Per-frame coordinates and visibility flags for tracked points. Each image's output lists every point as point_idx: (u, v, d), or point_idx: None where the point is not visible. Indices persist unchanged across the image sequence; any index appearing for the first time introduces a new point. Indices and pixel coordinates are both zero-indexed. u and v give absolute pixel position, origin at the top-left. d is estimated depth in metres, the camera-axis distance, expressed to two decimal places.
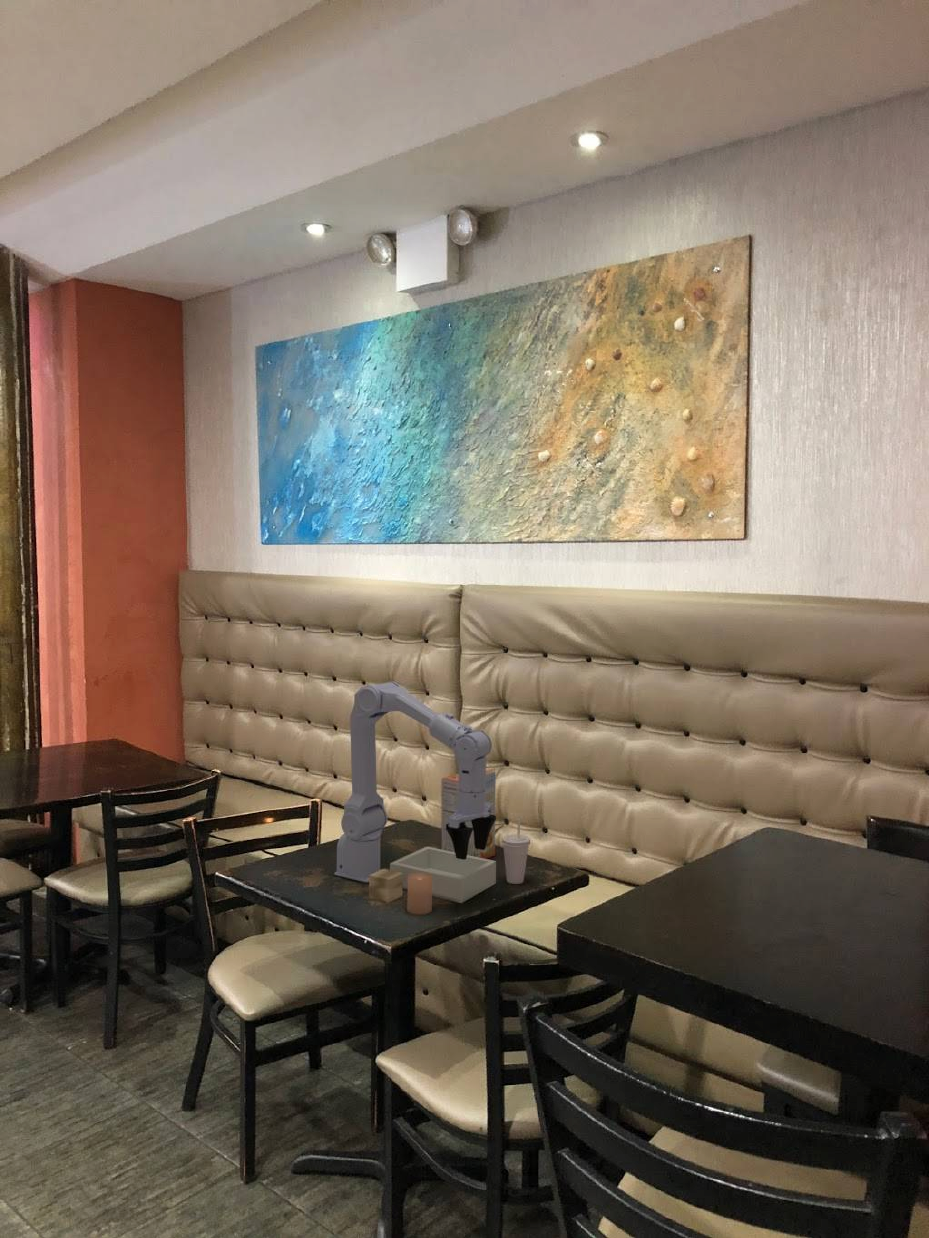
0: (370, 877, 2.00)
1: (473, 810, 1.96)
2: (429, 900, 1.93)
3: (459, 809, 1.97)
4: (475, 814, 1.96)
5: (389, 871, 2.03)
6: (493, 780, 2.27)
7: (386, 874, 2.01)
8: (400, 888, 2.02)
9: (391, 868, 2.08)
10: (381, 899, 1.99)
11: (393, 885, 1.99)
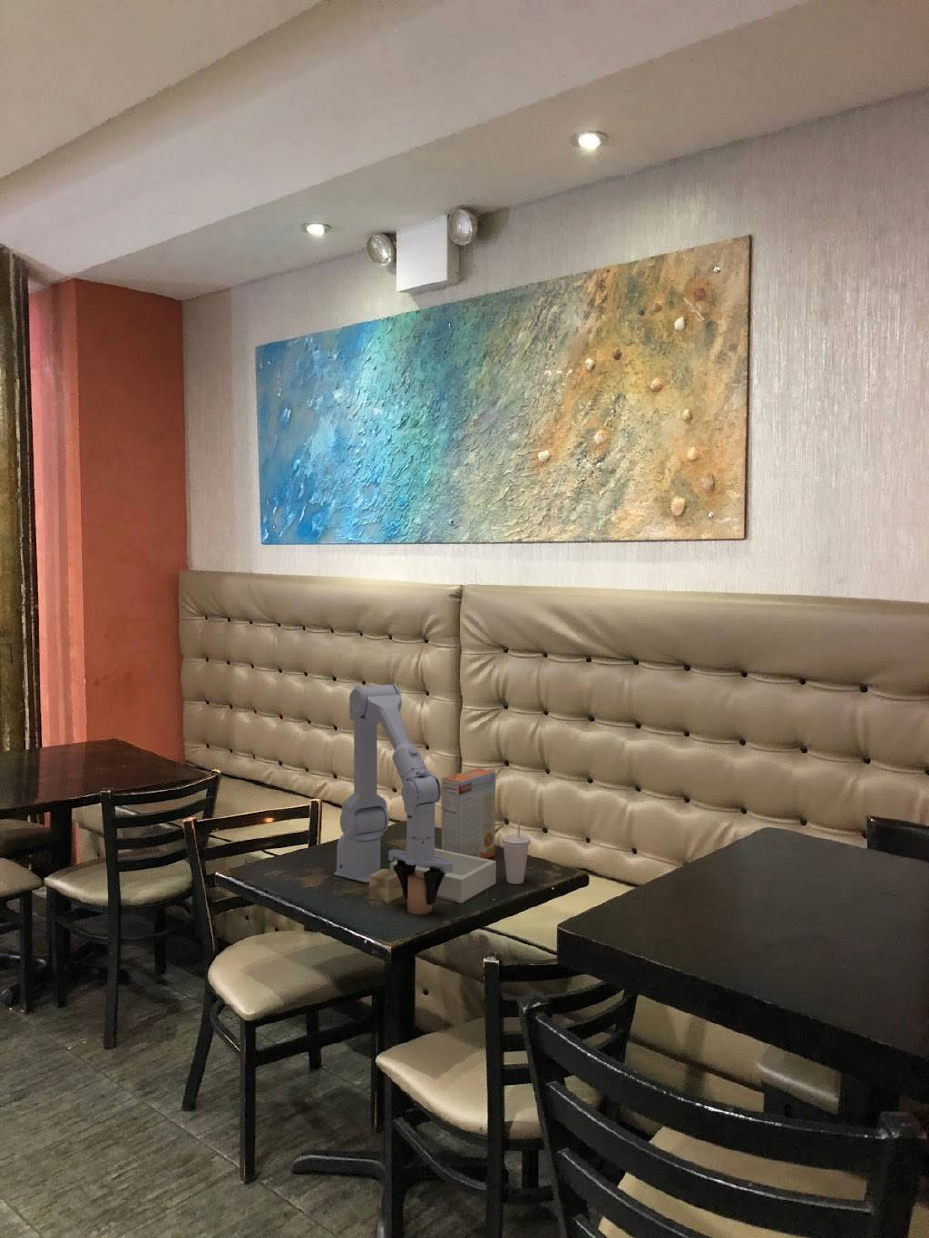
0: (370, 877, 2.00)
1: (406, 852, 1.93)
2: None
3: None
4: (405, 857, 1.93)
5: (389, 871, 2.03)
6: (493, 780, 2.27)
7: (386, 874, 2.01)
8: (400, 888, 2.02)
9: (391, 868, 2.08)
10: (381, 899, 1.99)
11: (393, 885, 1.99)
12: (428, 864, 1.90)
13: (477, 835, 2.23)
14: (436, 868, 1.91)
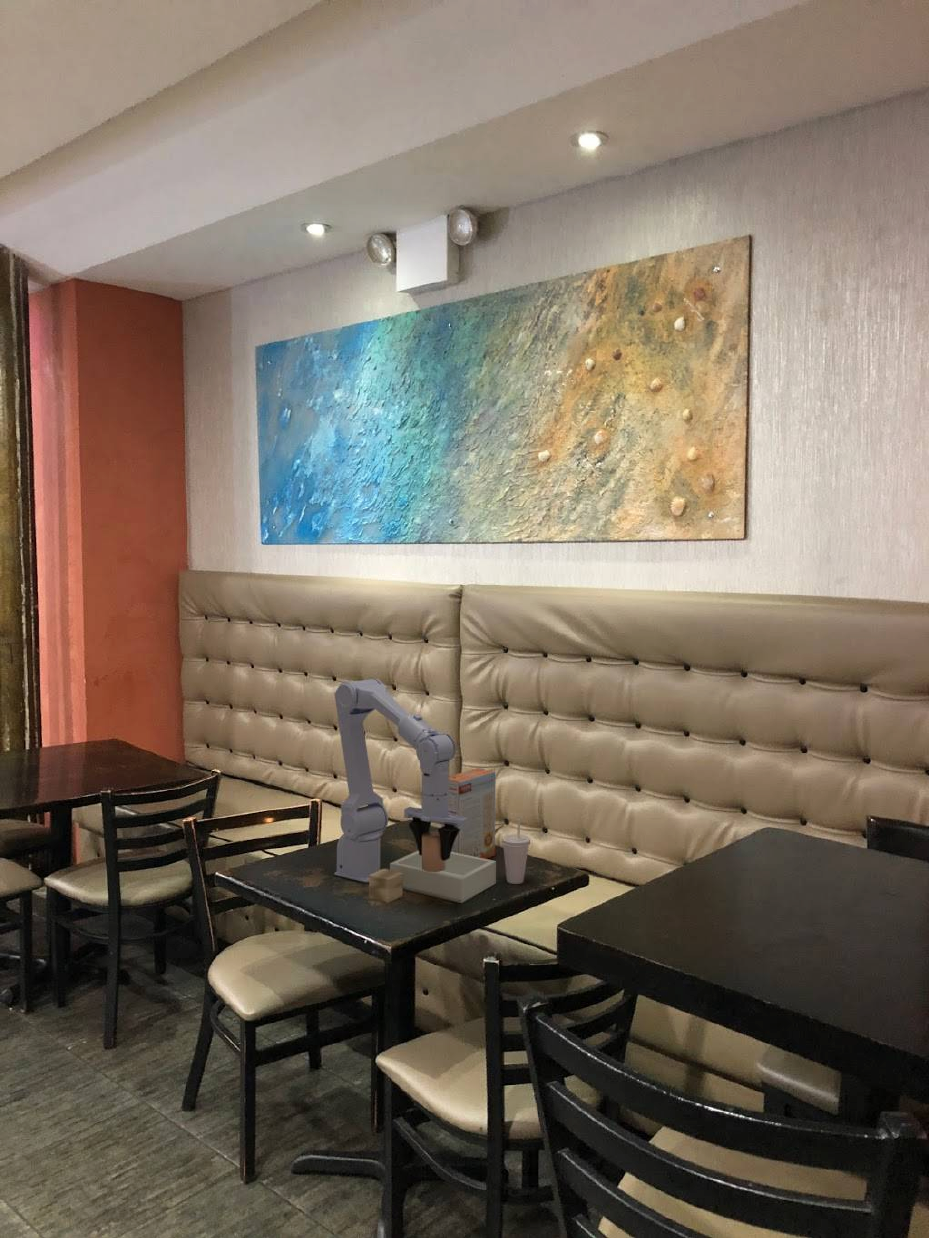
0: (370, 877, 2.00)
1: (421, 810, 1.98)
2: None
3: None
4: (420, 814, 1.98)
5: (389, 871, 2.03)
6: (493, 780, 2.27)
7: (386, 874, 2.01)
8: (400, 888, 2.02)
9: (391, 868, 2.08)
10: (381, 899, 1.99)
11: (393, 885, 1.99)
12: (443, 820, 1.95)
13: (477, 835, 2.23)
14: (450, 824, 1.96)
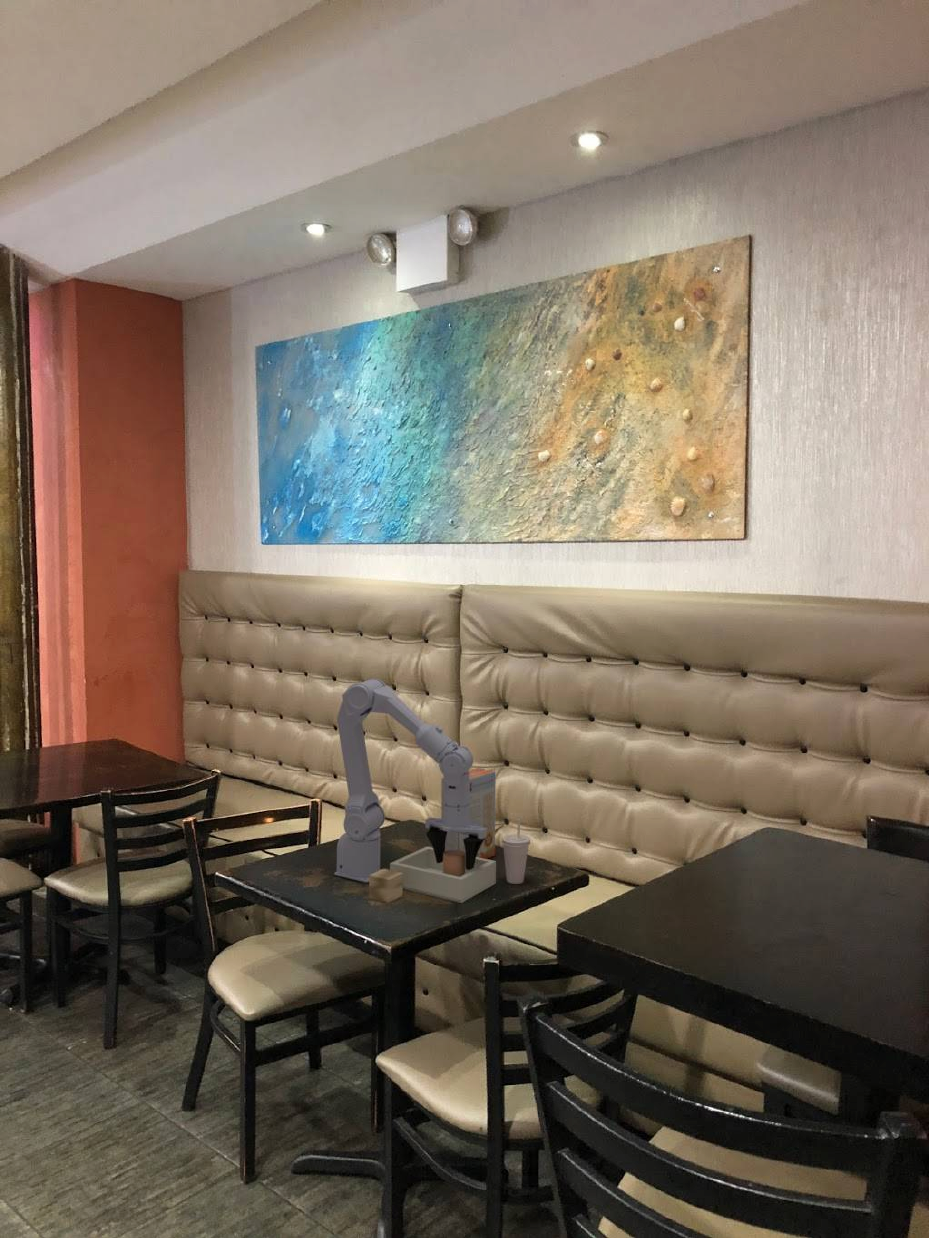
0: (370, 877, 2.00)
1: (442, 820, 2.06)
2: None
3: None
4: (441, 824, 2.06)
5: (389, 871, 2.03)
6: (493, 780, 2.27)
7: (386, 874, 2.01)
8: (400, 888, 2.02)
9: (391, 868, 2.08)
10: (381, 899, 1.99)
11: (393, 885, 1.99)
12: (463, 830, 2.03)
13: None
14: (471, 834, 2.04)
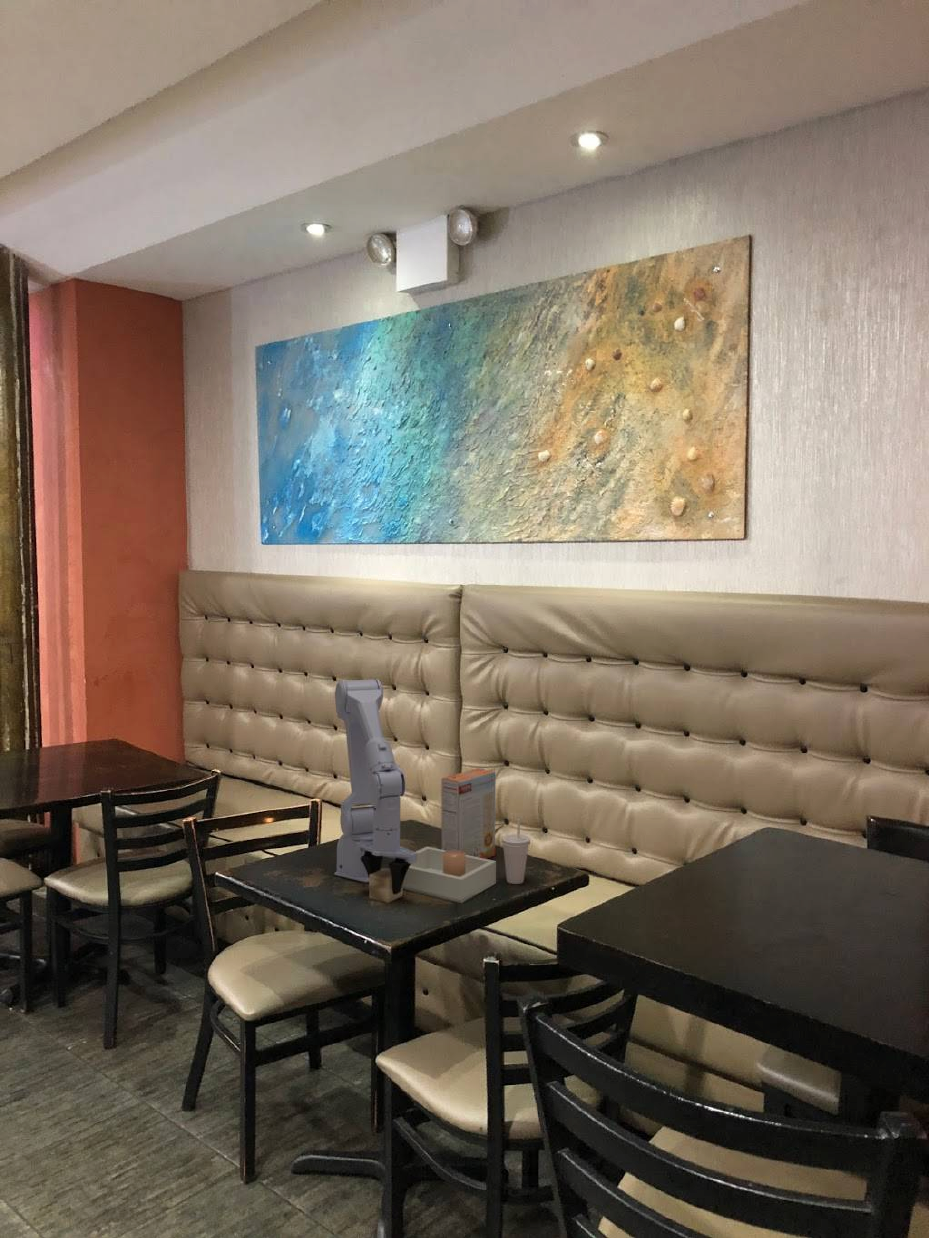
0: (370, 877, 2.00)
1: (372, 844, 2.00)
2: None
3: None
4: (371, 848, 2.00)
5: (389, 870, 2.03)
6: (493, 780, 2.27)
7: (386, 874, 2.01)
8: None
9: None
10: (381, 899, 1.99)
11: None
12: (393, 855, 1.97)
13: (477, 835, 2.23)
14: (401, 859, 1.98)
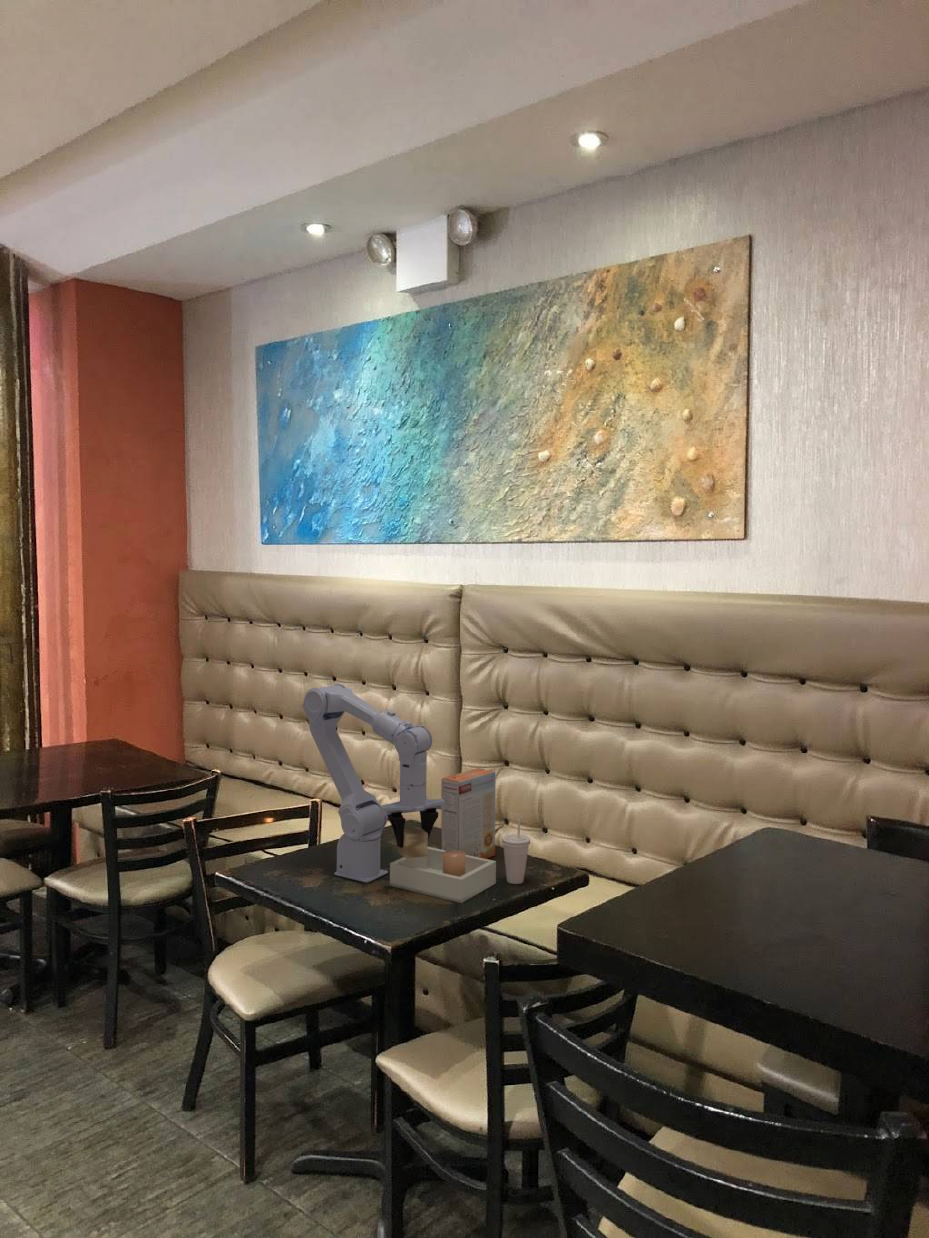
0: (407, 837, 2.03)
1: (406, 802, 2.03)
2: None
3: None
4: (407, 806, 2.03)
5: (408, 828, 2.08)
6: (493, 780, 2.27)
7: (415, 831, 2.06)
8: None
9: (391, 868, 2.08)
10: (419, 855, 2.05)
11: None
12: (430, 806, 2.06)
13: (477, 835, 2.23)
14: (432, 808, 2.08)
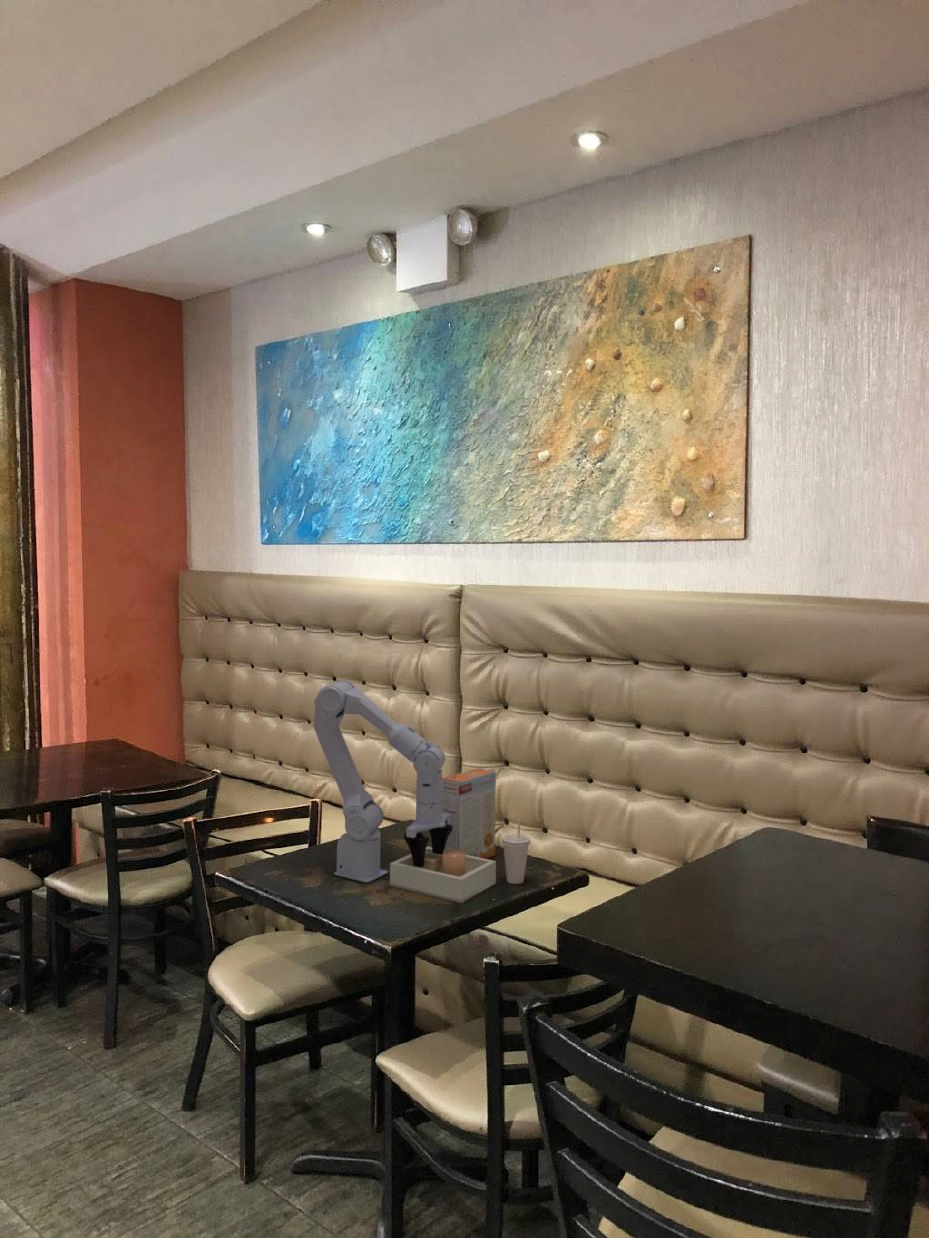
0: (433, 863, 2.08)
1: (430, 821, 2.08)
2: None
3: (417, 819, 2.09)
4: (431, 824, 2.08)
5: None
6: (493, 780, 2.27)
7: (432, 856, 2.11)
8: None
9: (391, 868, 2.08)
10: None
11: None
12: (444, 821, 2.12)
13: (477, 835, 2.23)
14: None
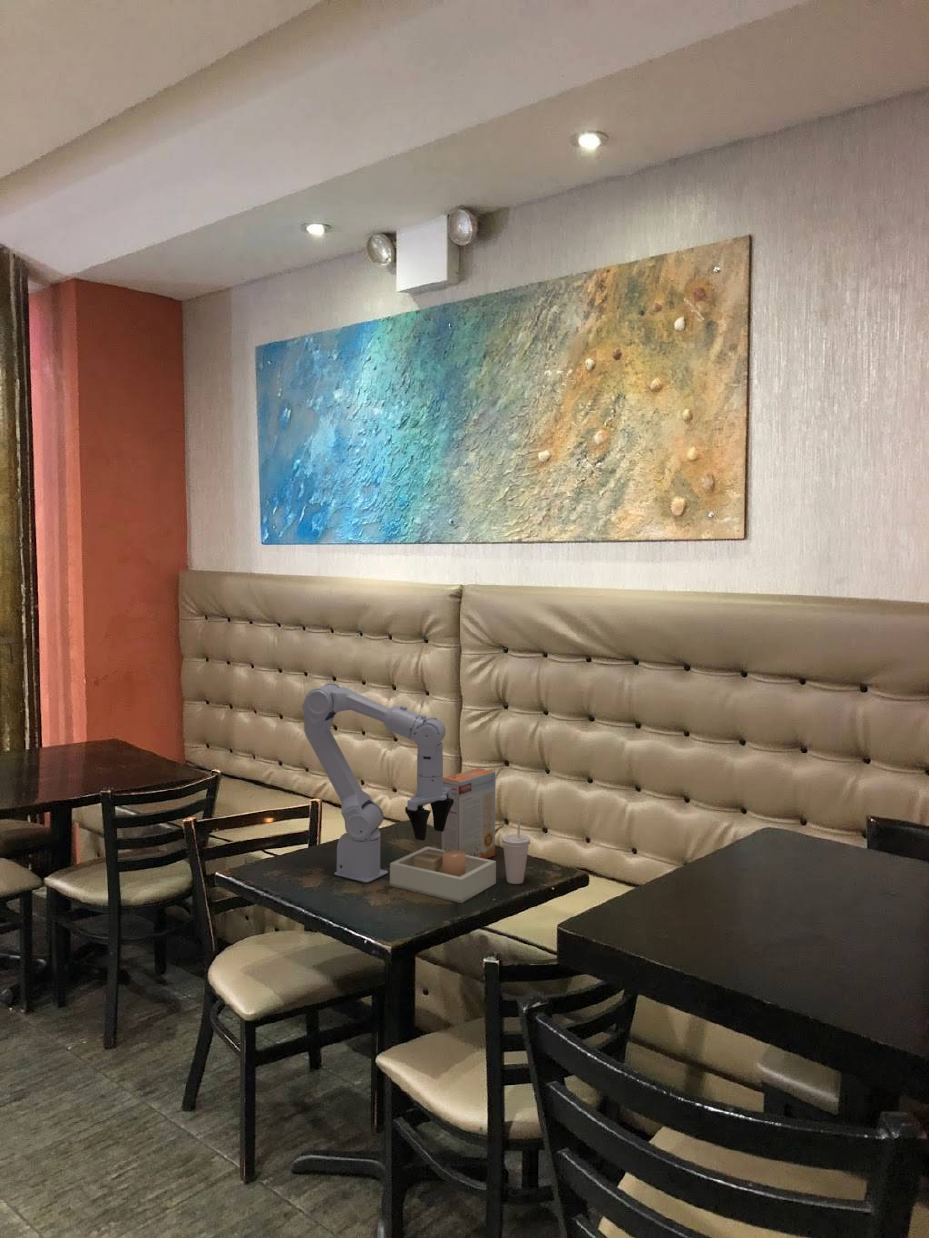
0: (433, 863, 2.08)
1: (431, 793, 2.07)
2: None
3: (418, 793, 2.09)
4: (433, 797, 2.07)
5: (421, 855, 2.11)
6: (493, 780, 2.27)
7: (432, 856, 2.11)
8: None
9: (391, 868, 2.08)
10: None
11: None
12: (445, 794, 2.12)
13: (477, 835, 2.23)
14: None
